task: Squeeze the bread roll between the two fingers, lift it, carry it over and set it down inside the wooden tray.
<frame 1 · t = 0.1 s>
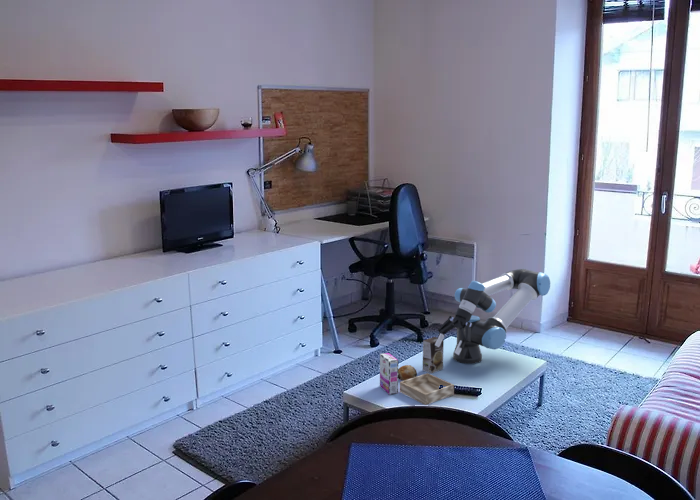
hand: (446, 350, 297), 15 cm above the table, tool tilted 35°, fingers open, 13 cm apart
wooden tray: (426, 393, 286), on the table
bread roll: (406, 378, 304), on the table
candy bar box: (389, 390, 290), on the table
coffee box: (433, 370, 313), on the table
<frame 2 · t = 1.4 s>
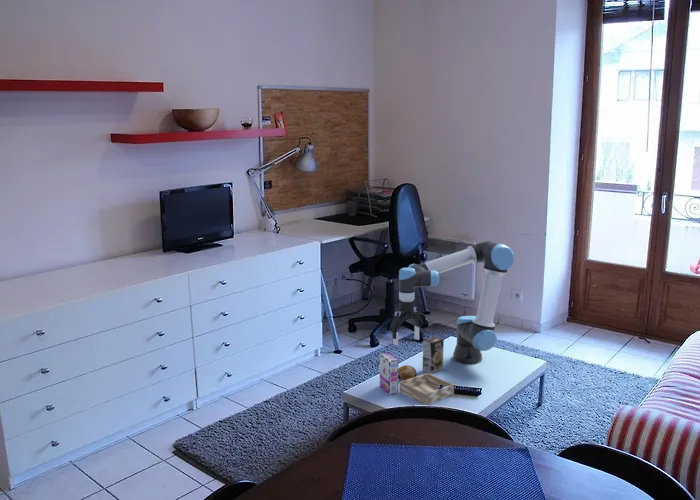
hand: (406, 342, 301), 18 cm above the table, tool pointing down, fingers open, 13 cm apart
nothing on the table moved.
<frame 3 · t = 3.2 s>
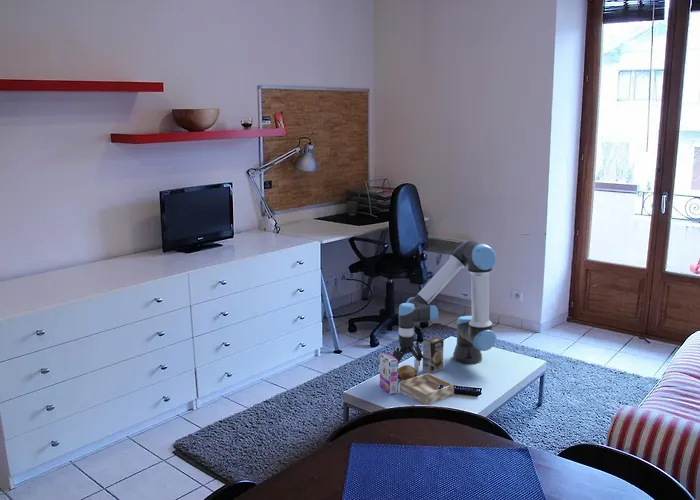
hand: (406, 375, 304), 1 cm above the table, tool pointing down, fingers open, 13 cm apart
nothing on the table moved.
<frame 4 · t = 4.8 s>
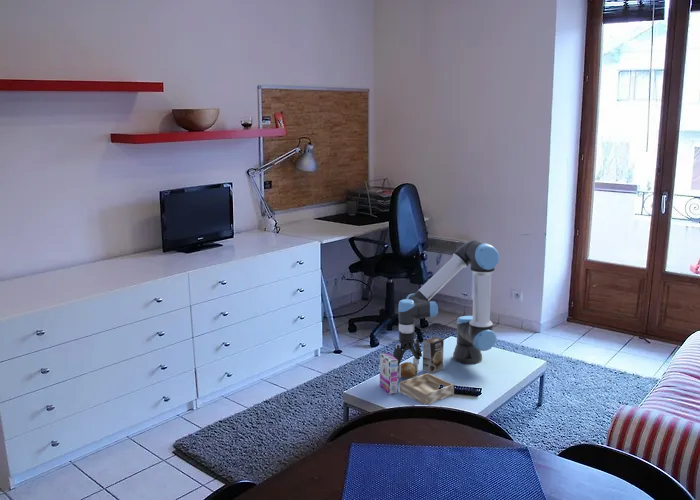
hand: (407, 373, 304), 2 cm above the table, tool pointing down, fingers closed on bread roll, 10 cm apart
bread roll: (406, 375, 304), point 1 cm above the table, touching gripper
everything else where it was.
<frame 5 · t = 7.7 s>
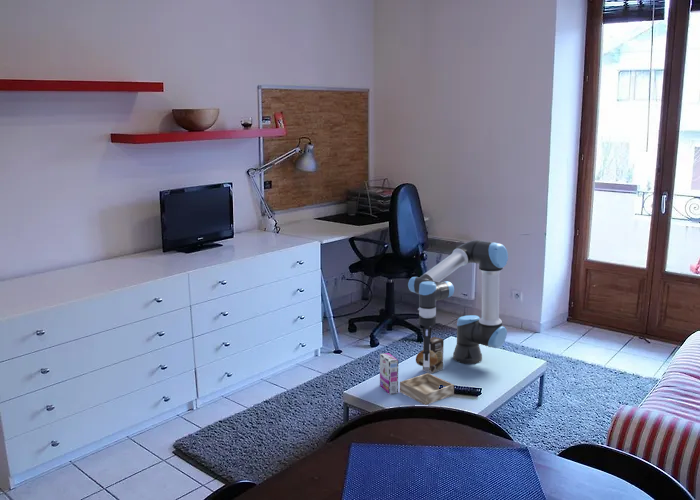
hand: (426, 362, 283), 15 cm above the table, tool pointing down, fingers closed on bread roll, 10 cm apart
bread roll: (426, 363, 282), point 15 cm above the table, touching gripper
everything else where it was.
when the fingers open (3 cm above the table, at t = 10.9 s): bread roll drops 1 cm, resting on wooden tray.
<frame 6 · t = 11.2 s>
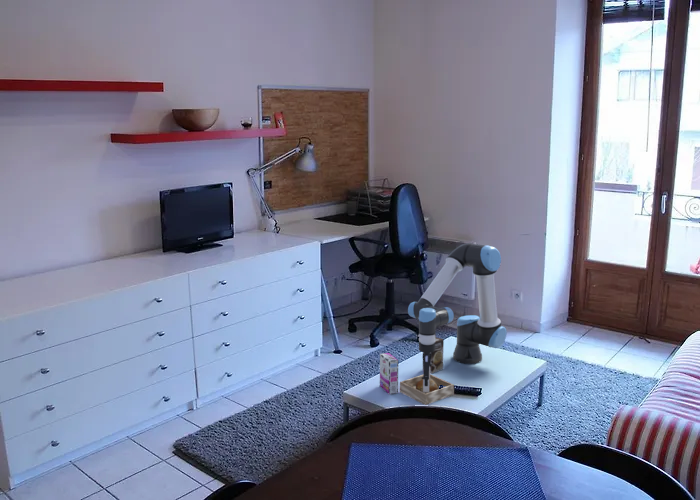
hand: (426, 386, 285), 4 cm above the table, tool pointing down, fingers open, 13 cm apart
bread roll: (426, 392, 285), point 1 cm above the table, touching wooden tray
everything else where it was.
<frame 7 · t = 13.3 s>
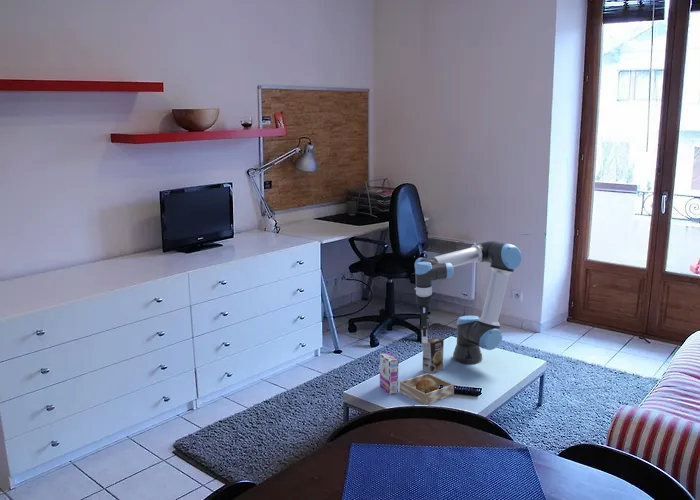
hand: (424, 337, 295), 22 cm above the table, tool pointing down, fingers open, 13 cm apart
nothing on the table moved.
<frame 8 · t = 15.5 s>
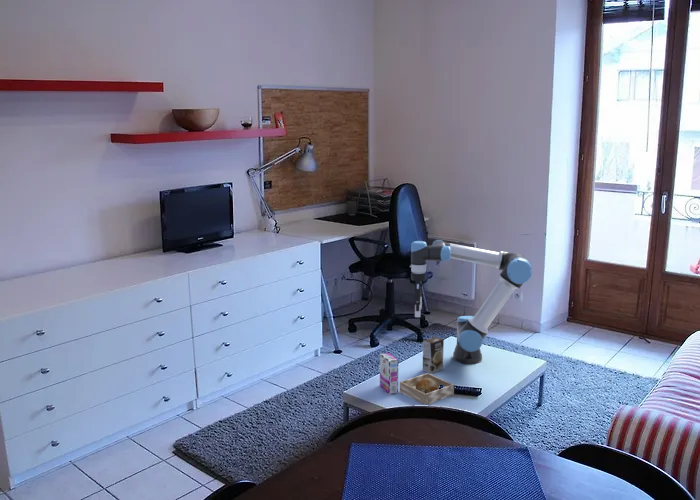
hand: (418, 313, 312), 29 cm above the table, tool pointing down, fingers open, 13 cm apart
nothing on the table moved.
at the end: bread roll inside the target area on the wooden tray (0.2 cm from its centre), point 0.8 cm above the wooden tray's base; the gripper is holding nothing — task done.
